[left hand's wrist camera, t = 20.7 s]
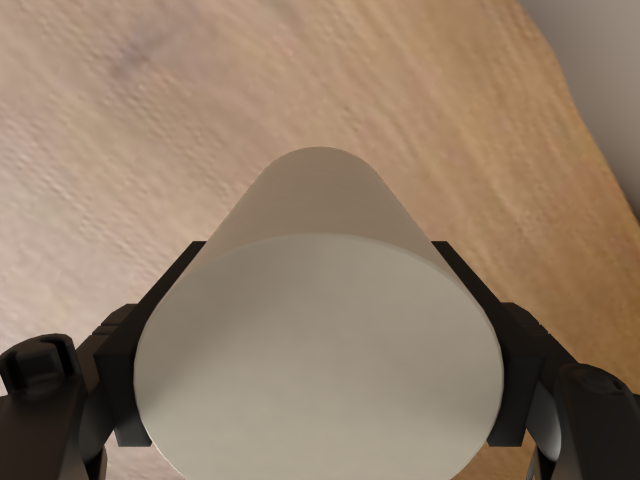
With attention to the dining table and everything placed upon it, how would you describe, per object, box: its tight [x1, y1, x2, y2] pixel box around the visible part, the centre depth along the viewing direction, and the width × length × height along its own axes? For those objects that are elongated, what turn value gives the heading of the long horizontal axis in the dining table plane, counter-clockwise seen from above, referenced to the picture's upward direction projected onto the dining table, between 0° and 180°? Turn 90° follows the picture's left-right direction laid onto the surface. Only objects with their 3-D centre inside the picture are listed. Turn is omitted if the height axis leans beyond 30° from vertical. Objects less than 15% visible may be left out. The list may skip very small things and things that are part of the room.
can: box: [133, 147, 504, 480], centre depth 14 cm, size 8×8×13 cm
